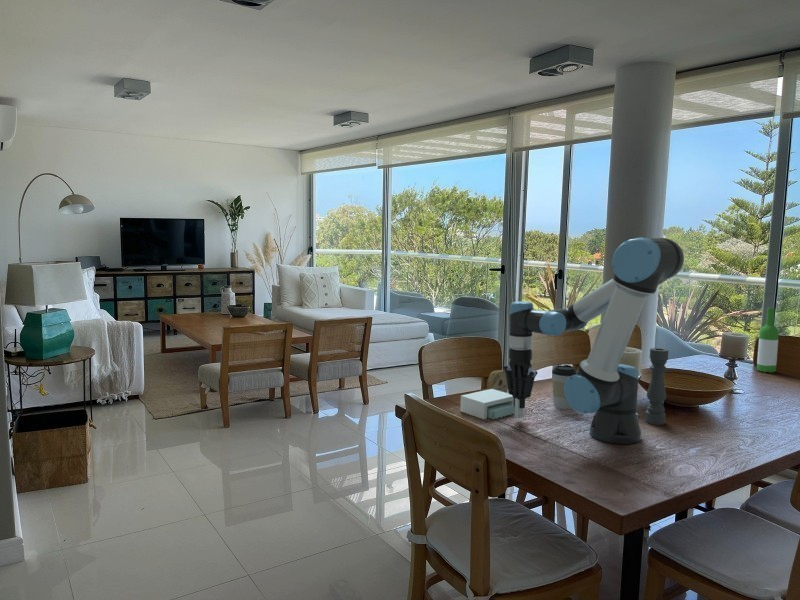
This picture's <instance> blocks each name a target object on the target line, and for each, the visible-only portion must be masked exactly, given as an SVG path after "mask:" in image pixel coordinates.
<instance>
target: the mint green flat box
mask: <svg viewBox="0 0 800 600" xmlns="http://www.w3.org/2000/svg"><path fill="white" fill-rule="evenodd" d="M507 415H508V416H511V415H515V407H514V405H512V404H509V403H505V402H504V403H500V404H496V405H492V406H488V407H487V417H488V418H487V419H490V418H491V420H495V418H496V419H499V417H500V418H503V416H504V417H507Z"/></svg>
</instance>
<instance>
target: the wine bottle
mask: <svg viewBox="0 0 800 600" xmlns="http://www.w3.org/2000/svg"><path fill="white" fill-rule="evenodd" d="M766 309H767V311H766V320H765V322H766V323H765V325H763V326H762V327H761V328H760V330H759V336H758V345H757V347H758V348H757V360H756V369H757V371H758V370H759V371H758V372H761V371H763V372H762V373H766V372H769V373H768V374H770V373H771V374H772V373H775V372H776V371H777V361H778V347H779V336H780V335H779V333H780V332H779V329H778V328H777V327H776V326H775V325H774V322H775V308H774V307H767V308H766Z"/></svg>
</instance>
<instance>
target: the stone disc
mask: <svg viewBox="0 0 800 600" xmlns="http://www.w3.org/2000/svg"><path fill="white" fill-rule="evenodd" d="M489 389H494V390H498V391H501V392H505V393H508V385H507V379H506V373H505V371H504V369H503V370H501V369H496V370H493V371H492V372H490V373H489V376H488V378H487V383H486V390H489Z"/></svg>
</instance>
